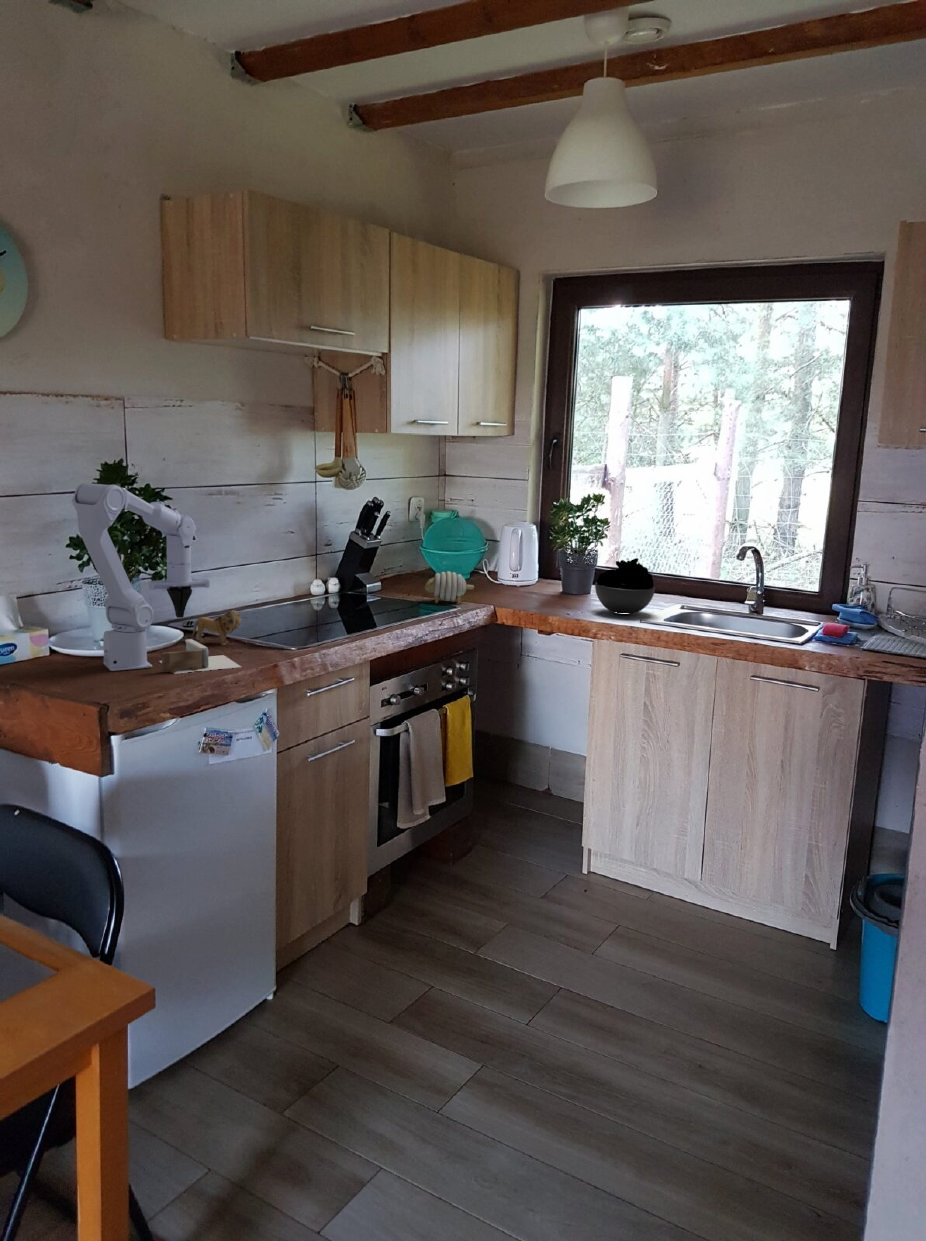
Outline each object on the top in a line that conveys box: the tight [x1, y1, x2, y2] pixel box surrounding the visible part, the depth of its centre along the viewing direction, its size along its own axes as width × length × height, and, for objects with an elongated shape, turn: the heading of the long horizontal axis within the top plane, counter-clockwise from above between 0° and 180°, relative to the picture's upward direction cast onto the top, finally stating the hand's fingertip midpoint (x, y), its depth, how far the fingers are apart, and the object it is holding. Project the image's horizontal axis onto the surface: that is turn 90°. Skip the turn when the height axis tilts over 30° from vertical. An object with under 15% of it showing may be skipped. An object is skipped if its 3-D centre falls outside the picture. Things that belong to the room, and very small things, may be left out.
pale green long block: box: [185, 638, 209, 667], centre depth 228 cm, size 12×2×4 cm, turn 37°
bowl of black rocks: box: [594, 557, 656, 614], centre depth 318 cm, size 20×20×19 cm
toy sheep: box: [424, 570, 475, 603], centre depth 325 cm, size 11×17×11 cm, turn 98°
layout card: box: [159, 654, 243, 675], centre depth 228 cm, size 16×13×1 cm
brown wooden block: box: [161, 650, 202, 674], centre depth 221 cm, size 9×4×4 cm, turn 123°
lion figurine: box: [186, 610, 242, 646], centre depth 251 cm, size 15×5×9 cm, turn 85°
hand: (179, 616), depth 236 cm, fingers closed
